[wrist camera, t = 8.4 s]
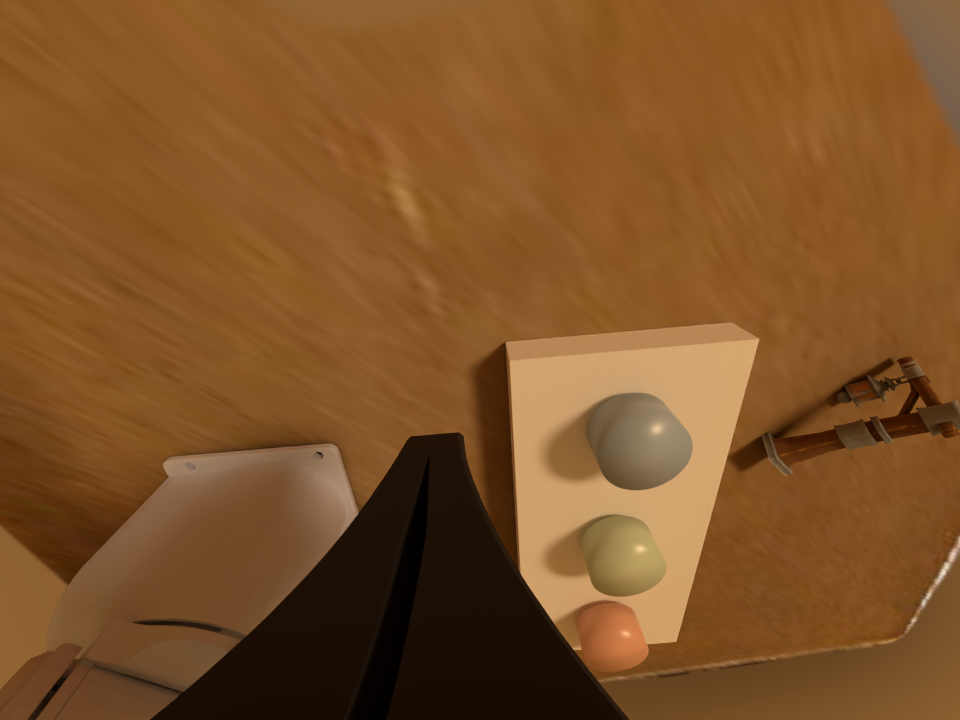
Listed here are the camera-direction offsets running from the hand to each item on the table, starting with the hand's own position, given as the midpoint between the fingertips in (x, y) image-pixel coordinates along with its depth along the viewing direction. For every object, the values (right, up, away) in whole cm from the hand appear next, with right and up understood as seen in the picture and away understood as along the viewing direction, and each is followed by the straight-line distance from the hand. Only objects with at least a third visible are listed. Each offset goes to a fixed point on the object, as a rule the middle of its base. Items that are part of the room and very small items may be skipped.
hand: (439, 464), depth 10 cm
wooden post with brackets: (+20, 0, +11) cm, 23 cm away
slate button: (+8, 0, +9) cm, 12 cm away
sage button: (+9, -7, +13) cm, 17 cm away
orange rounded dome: (+9, -14, +17) cm, 24 cm away
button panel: (+9, -7, +14) cm, 18 cm away
